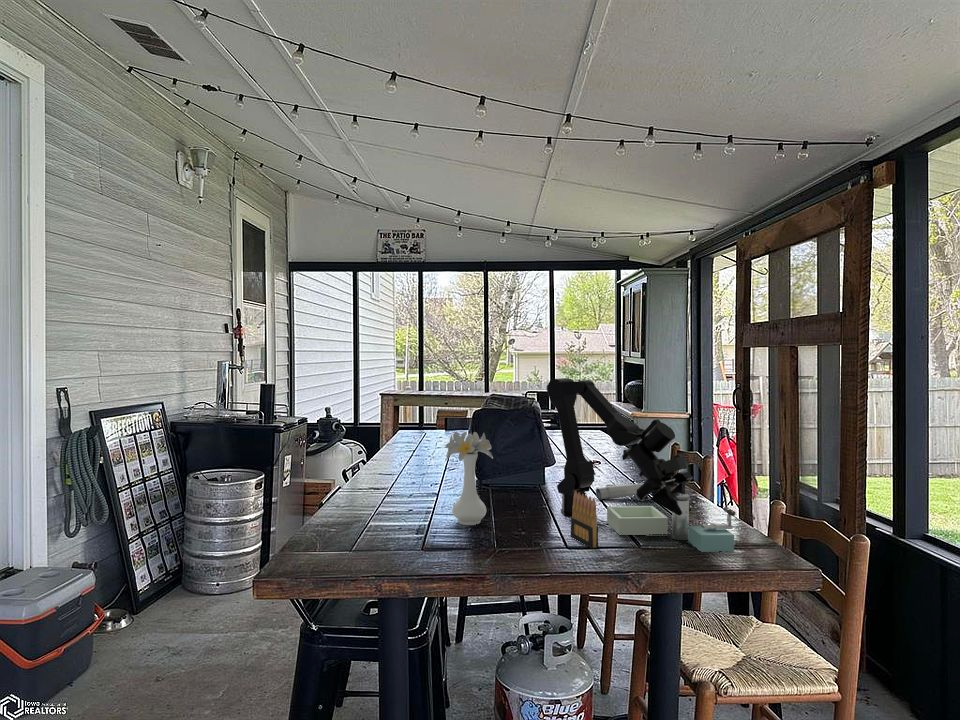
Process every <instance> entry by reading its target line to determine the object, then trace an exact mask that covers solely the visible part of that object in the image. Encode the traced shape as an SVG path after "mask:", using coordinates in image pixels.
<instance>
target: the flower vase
mask: <svg viewBox="0 0 960 720" xmlns="http://www.w3.org/2000/svg"><path fill="white" fill-rule="evenodd" d="M486 438H487V437H486V434H485V432H483V433H482V435H481V436H479V434H478V433H477V432H476V431H474V432H472V433H468V434H467V431H464V432H462V433H461V435H459V433H458V431H454V432H453V434H450V438H449V442H448V443H447V444H445V446H444V447H445V448H446V449H447V453H446V458H445V462H447V460H448V459H449V458H450V457H451V456H452V455H453V454H458V457H457V458H458V461H459V462H460V461H463V469H464V470H463V471H464V472H463V474H464V475H463V486H462V487H463V488H462V492H461V494H460V497H459V499H457V501H456V502H455V503H454V504H453V506H452V515H453V516H454V518H455V519H456V520H457V523H458V524H459V525H462V526H476V524H477V525H479V524H480V523H481V521H482V519H483V518H485V516H486V514H487V507H486V505H485V503H484V502H483V501H482V500H481V498H480V497H479V494H478V491H477V487H476V462H477V459H478V456H479V455H478V454H479V452H481V453H484V454H485V455H487V456H488V457H490V459H492V460H493V459H494V457H493V454H492V452H491V451H489V450H492V444H491V443H490V440H489V439H486Z"/></svg>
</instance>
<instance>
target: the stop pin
mask: <svg viewBox="0 0 960 720" xmlns="http://www.w3.org/2000/svg"><path fill="white" fill-rule="evenodd" d="M685 493H686V492H685ZM685 493H673V494H672V496H673V498H674V499H675V501H676V502H677V504H678V506H679V507H680V509H681V511H682V514H681V515H680V516H679V515H677V514H675V513H674V512H672V511H671V513H672V515H671V517H672V520H671V526H672V527H671V538H672V540H673V539H674V540H677V541H687V540H688V541H689V526H690V525H689V523H690V512H689V504H690V498H691V497H690V494H689V493H686V494H685Z"/></svg>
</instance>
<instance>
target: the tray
mask: <svg viewBox="0 0 960 720" xmlns="http://www.w3.org/2000/svg"><path fill="white" fill-rule="evenodd" d="M668 521H669V519H668V517H667V516H666V515H665V514H664V513H662V512H661V511H659V510H658V509H657V508H655V507H654V506H653V505H635V506H634V505H632V506H631V505H630V506H629V505H627V506H626V505H621V506H618V505H617V506H615V505H613V506H612V505H611V506H607V507H606V523H607V522H608V523H607V525H608V526H609V527H610V526H611V527H612V528H613V529H614V530H615V531H616V532H617V533H618V534H619V535H646V536H653V535H652V534H662V535H661V536H664V535H663V534H668V526H669V524H668V523H669V522H668ZM612 528H611V529H612ZM613 529H612V530H613ZM614 530H613V531H614ZM615 531H614V532H615ZM616 532H615V533H616ZM617 533H616V534H617ZM618 534H617V535H618ZM649 534H651V535H649ZM619 535H618V536H619ZM668 535H669V534H668Z"/></svg>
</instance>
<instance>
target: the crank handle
mask: <svg viewBox="0 0 960 720" xmlns="http://www.w3.org/2000/svg"><path fill="white" fill-rule="evenodd" d="M722 510H723V512H725V513H726V523H714V522H706V523H703V524H701V526H702V528H703V529H707V530H711V531H714V530H716V529H726V530H733V528H734V527H733V524H732V519H733V518H732V517H734V516H736V512H735V511H734V510H733V509H731V508H729V507H727V506H724V507H723V509H722Z"/></svg>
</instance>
